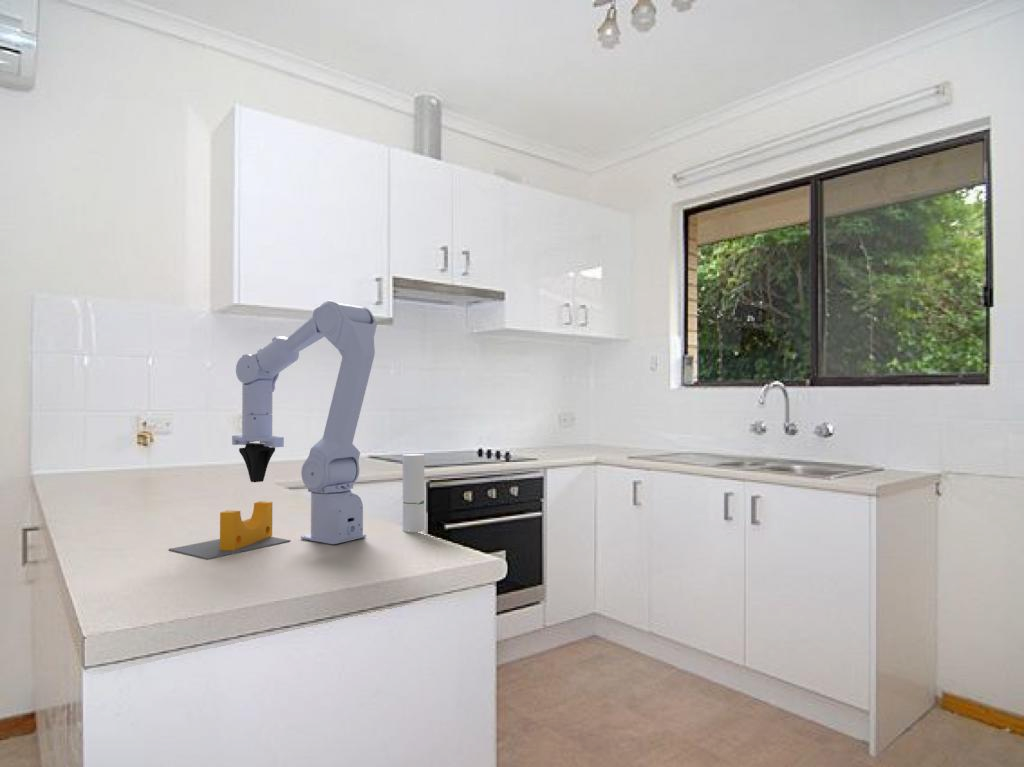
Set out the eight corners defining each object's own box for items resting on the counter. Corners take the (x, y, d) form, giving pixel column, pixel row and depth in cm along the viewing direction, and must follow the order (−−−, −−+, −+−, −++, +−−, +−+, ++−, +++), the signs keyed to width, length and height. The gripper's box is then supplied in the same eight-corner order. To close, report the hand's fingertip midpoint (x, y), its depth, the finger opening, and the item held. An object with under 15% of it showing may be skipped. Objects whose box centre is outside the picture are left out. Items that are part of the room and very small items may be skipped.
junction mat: (290, 541, 119) (290, 540, 119) (207, 559, 105) (207, 558, 105) (251, 533, 125) (251, 532, 125) (168, 550, 112) (168, 548, 112)
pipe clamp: (251, 535, 123) (251, 501, 124) (272, 535, 123) (272, 501, 123) (210, 549, 112) (211, 512, 112) (233, 550, 111) (233, 512, 111)
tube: (406, 533, 126) (406, 455, 126) (399, 529, 129) (399, 454, 130) (427, 531, 128) (427, 454, 128) (420, 527, 131) (420, 453, 132)
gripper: (218, 414, 132) (218, 481, 132) (261, 415, 124) (261, 486, 124) (249, 414, 138) (249, 477, 138) (292, 414, 130) (292, 482, 130)
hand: (257, 481), depth 131 cm, fingers closed
